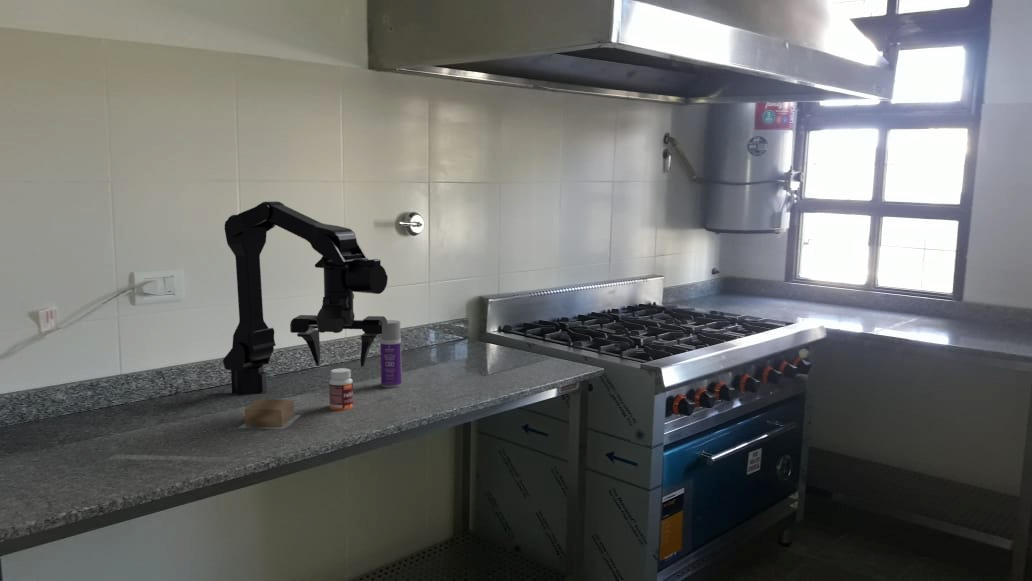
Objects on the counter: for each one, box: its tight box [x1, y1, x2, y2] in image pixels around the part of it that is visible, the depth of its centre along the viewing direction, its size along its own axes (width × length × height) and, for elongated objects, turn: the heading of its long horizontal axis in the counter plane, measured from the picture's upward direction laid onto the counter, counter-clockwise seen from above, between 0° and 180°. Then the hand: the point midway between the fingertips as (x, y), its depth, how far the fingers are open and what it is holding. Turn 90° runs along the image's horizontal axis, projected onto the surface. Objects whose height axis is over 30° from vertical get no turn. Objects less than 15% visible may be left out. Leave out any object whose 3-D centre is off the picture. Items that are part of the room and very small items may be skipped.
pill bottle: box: [328, 367, 354, 411], centre depth 163 cm, size 5×5×8 cm
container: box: [380, 319, 402, 389], centre depth 183 cm, size 5×5×15 cm
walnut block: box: [244, 398, 295, 427], centre depth 153 cm, size 7×7×3 cm
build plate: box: [238, 414, 301, 430], centre depth 154 cm, size 17×12×1 cm
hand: (340, 365), depth 163 cm, fingers open, 9 cm apart
